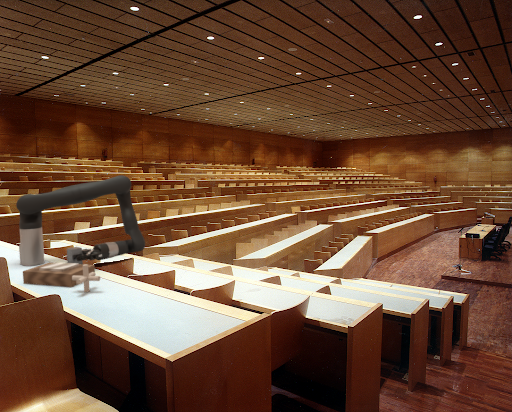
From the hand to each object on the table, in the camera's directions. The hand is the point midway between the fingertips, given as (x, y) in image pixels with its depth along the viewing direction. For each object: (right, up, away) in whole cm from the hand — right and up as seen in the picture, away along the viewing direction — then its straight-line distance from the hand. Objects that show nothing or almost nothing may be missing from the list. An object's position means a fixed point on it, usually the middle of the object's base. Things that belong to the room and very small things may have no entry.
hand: (72, 257), depth 166 cm
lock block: (+1, -6, +2) cm, 6 cm away
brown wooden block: (+1, -7, -13) cm, 15 cm away
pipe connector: (+19, -9, -27) cm, 34 cm away
